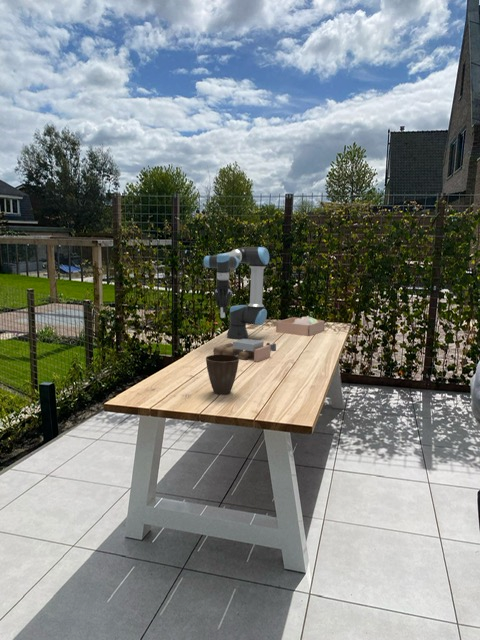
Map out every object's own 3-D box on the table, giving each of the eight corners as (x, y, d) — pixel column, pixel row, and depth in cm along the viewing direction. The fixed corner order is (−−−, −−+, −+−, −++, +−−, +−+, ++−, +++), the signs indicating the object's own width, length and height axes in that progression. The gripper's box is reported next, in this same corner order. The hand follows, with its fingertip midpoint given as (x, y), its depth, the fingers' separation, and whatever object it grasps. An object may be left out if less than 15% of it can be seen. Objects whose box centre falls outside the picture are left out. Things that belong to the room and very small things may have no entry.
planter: (292, 326, 405) (293, 317, 403) (324, 330, 391) (324, 320, 389) (276, 332, 379) (276, 321, 378) (308, 336, 365) (309, 325, 364)
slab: (243, 345, 301) (243, 338, 301) (263, 348, 294) (263, 341, 294) (232, 348, 291) (233, 341, 291) (253, 351, 284) (253, 344, 283)
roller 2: (236, 351, 307) (236, 343, 306) (243, 353, 304) (243, 345, 304) (222, 356, 294) (222, 347, 293) (229, 358, 291) (229, 349, 290)
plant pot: (198, 391, 223) (199, 357, 220) (222, 385, 233) (223, 352, 231) (220, 399, 212) (221, 363, 210) (245, 392, 223) (246, 358, 220)
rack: (267, 349, 316) (267, 342, 315) (275, 350, 313) (276, 343, 312) (255, 353, 302) (255, 346, 302) (263, 355, 299) (264, 347, 299)
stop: (267, 356, 296) (267, 345, 295) (270, 356, 295) (270, 345, 294) (254, 361, 282) (254, 349, 281) (257, 362, 281) (257, 350, 280)
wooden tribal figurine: (286, 322, 397) (315, 314, 393) (291, 339, 395) (320, 331, 391) (285, 320, 383) (314, 312, 379) (290, 338, 381) (320, 329, 377)
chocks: (227, 350, 310) (227, 349, 310) (259, 355, 299) (259, 354, 299) (213, 354, 297) (213, 354, 297) (245, 360, 285) (246, 359, 285)
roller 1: (227, 350, 310) (227, 342, 310) (234, 351, 308) (234, 343, 307) (213, 355, 297) (213, 346, 296) (220, 356, 294) (220, 347, 293)
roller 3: (252, 354, 301) (252, 346, 300) (259, 355, 299) (259, 347, 298) (238, 359, 288) (238, 351, 287) (245, 360, 285) (245, 352, 284)
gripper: (210, 279, 300) (210, 317, 304) (228, 280, 293) (228, 319, 297) (217, 278, 306) (217, 315, 310) (235, 279, 299) (234, 317, 304)
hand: (222, 317), depth 304 cm, fingers closed
